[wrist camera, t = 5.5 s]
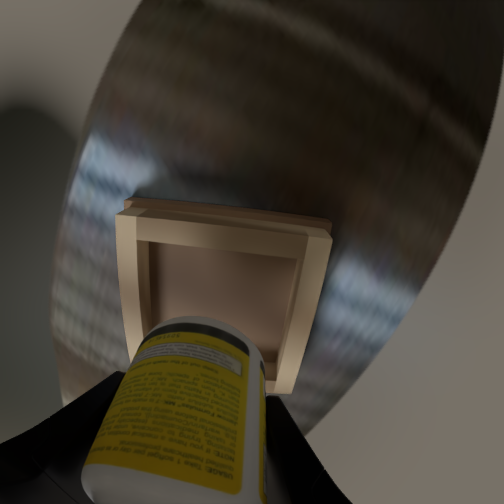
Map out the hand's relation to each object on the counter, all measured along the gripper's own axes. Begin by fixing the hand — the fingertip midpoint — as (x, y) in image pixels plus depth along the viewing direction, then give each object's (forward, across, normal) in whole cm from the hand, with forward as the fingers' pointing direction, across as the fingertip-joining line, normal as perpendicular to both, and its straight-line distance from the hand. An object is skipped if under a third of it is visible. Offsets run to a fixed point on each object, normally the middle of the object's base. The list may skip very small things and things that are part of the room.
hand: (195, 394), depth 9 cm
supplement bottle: (+2, 0, 0) cm, 2 cm away
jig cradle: (+7, 0, 0) cm, 7 cm away
